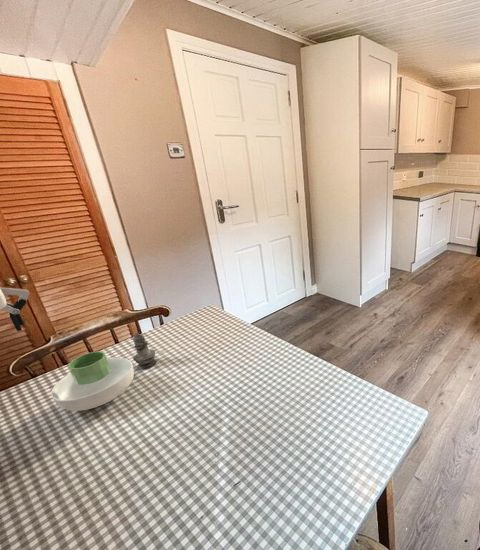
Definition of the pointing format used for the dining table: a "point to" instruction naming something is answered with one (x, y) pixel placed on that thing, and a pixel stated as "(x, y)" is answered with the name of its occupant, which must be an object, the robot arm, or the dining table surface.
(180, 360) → the dining table surface
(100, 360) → the green bowl
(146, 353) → the grey tall carved piece
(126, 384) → the cereal bowl
